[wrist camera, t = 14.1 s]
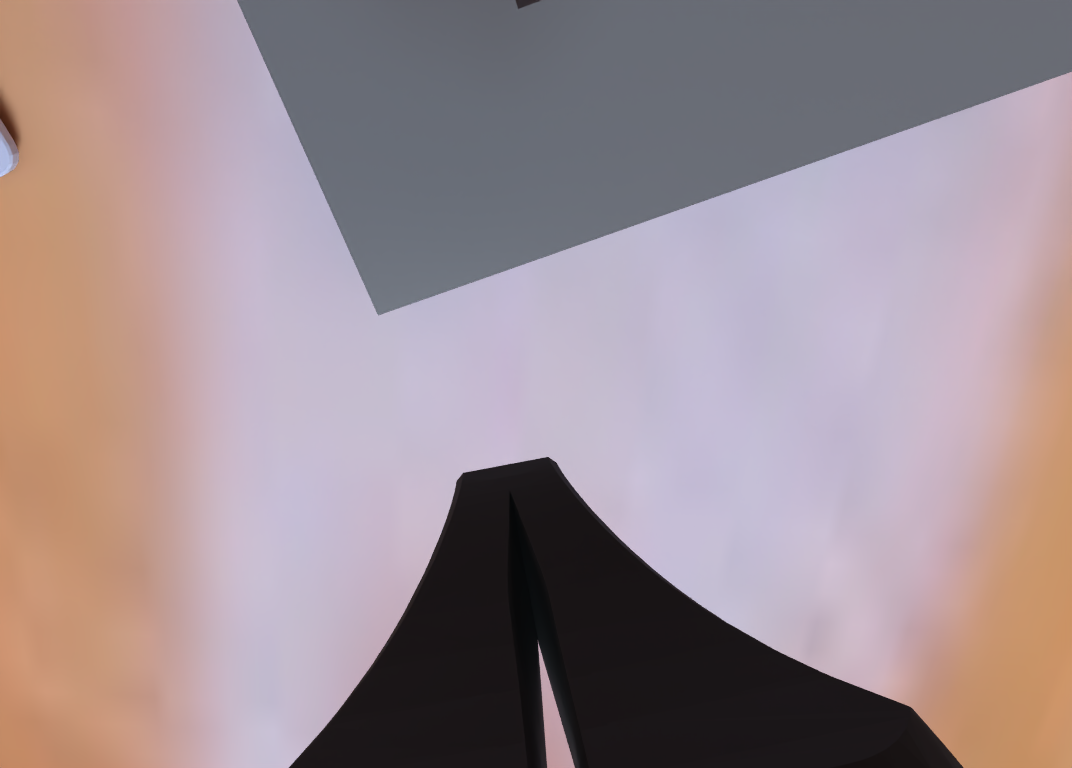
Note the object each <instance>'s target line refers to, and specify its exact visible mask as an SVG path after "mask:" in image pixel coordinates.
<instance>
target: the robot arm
mask: <svg viewBox="0 0 1072 768" xmlns="http://www.w3.org/2000/svg"><path fill="white" fill-rule="evenodd" d="M18 161H19V152H18V149H17V146H16V144H15V142H14V140H13V139H12V137H11V135H10V134H9V132H8V130H7V129H6V127H5V126H4V124H3V122H2V121H1V119H0V177H1V176H3V175H5V174H7V173H9V172H10V171H12V170H13V169H15V167H16V165H17V163H18ZM538 642H539V646H540V649H541V653H542V656H543V660H544V663H545V667H546V670H547V673H548V677H549V680H550V684H551V687H552V691H553V694H554V697H555V701H556V704H557V708H558V711H559V714H560V718H561V721H562V725H563V728H564V731H565V735H566V738H567V742H568V745H569V748H570V752H571V755H572V759H573V762H574V766H575V768H963V767H962V765H961V764H960V763H959V762H958V761H957V759H956V758H955V757H954V756H953V755H952V753H951V752H950V751H949V750H948V749H947V748H946V746H945V745H944V744H943V743H942V742H941V741H940V739H939V738H938V737H937V736H936V735H935V734H934V733H933V731H932V730H931V729H930V728H929V727H928V726H927V725H926V723H925V722H924V721H923V720H922V719H921V718H920V717H919V715H918V714H917V713H916V712H915V711H914V710H913V709H912V708H911V707H909V706H907V705H904V704H901V703H899V702H896V701H894V700H891V699H888V698H886V697H883V696H881V695H878V694H875V693H873V692H870V691H868V690H865V689H862V688H860V687H857V686H855V685H852V684H849V683H847V682H844V681H842V680H839V679H836V678H834V677H831V676H829V675H827V674H825V673H822V672H820V671H818V670H816V669H814V668H812V667H809V666H807V665H805V664H803V663H801V662H799V661H797V660H795V659H793V658H790V657H788V656H786V655H784V654H782V653H780V652H778V651H776V650H774V649H772V648H770V647H769V646H767V645H765V644H763V643H762V642H760V641H758V640H756V639H755V638H753V637H751V636H749V635H748V634H746V633H744V632H742V631H741V630H739V629H737V628H735V627H733V626H732V625H730V624H728V623H726V622H725V621H723V620H722V619H720V618H719V617H717V616H716V615H714V614H713V613H711V612H710V611H708V610H707V609H705V608H704V607H702V606H701V605H699V604H698V603H696V602H695V601H694V600H692V599H691V598H690V597H688V596H687V595H686V594H684V593H683V592H681V591H680V590H679V589H677V588H676V587H675V586H673V585H672V584H671V583H670V582H668V581H667V580H666V579H664V578H663V577H662V576H661V575H660V574H658V573H657V572H656V571H655V570H654V569H652V568H651V567H650V566H649V565H648V564H647V563H645V562H644V561H643V560H642V559H641V558H640V557H639V556H638V555H636V554H635V553H634V552H633V551H632V550H631V549H630V548H629V547H628V546H627V545H626V544H625V543H624V542H622V541H621V540H620V539H619V538H618V537H617V536H616V535H615V534H614V533H613V532H612V531H611V530H610V528H609V527H608V526H607V525H606V524H605V523H604V522H603V521H602V520H601V519H600V518H599V517H598V516H597V515H596V514H595V513H594V512H593V511H592V509H591V508H590V507H589V506H588V505H587V504H586V503H585V501H584V500H583V499H582V498H581V497H580V495H579V494H578V493H577V492H576V491H575V489H574V488H573V487H572V485H571V484H570V483H569V481H568V480H567V479H566V477H565V476H564V474H563V473H562V471H561V470H560V468H559V466H558V465H557V463H556V462H555V461H553V460H552V459H550V458H549V457H546V458H540V459H535V460H530V461H524V462H519V463H514V464H508V465H503V466H498V467H492V468H487V469H482V470H477V471H471V472H466V473H463V474H462V475H461V476H460V478H459V479H458V480H457V482H456V488H455V493H454V496H453V500H452V504H451V507H450V510H449V513H448V516H447V519H446V522H445V525H444V527H443V530H442V533H441V535H440V538H439V540H438V542H437V545H436V547H435V550H434V552H433V554H432V557H431V559H430V562H429V564H428V566H427V568H426V571H425V573H424V575H423V577H422V579H421V581H420V583H419V585H418V587H417V589H416V590H415V592H414V594H413V596H412V598H411V600H410V602H409V604H408V606H407V608H406V610H405V612H404V614H403V616H402V617H401V619H400V621H399V623H398V624H397V626H396V628H395V629H394V631H393V633H392V634H391V636H390V638H389V639H388V641H387V643H386V644H385V646H384V647H383V649H382V650H381V652H380V653H379V655H378V656H377V658H376V660H375V661H374V663H373V664H372V666H371V667H370V669H369V670H368V671H367V673H366V674H365V675H364V677H363V678H362V680H361V681H360V682H359V684H358V685H357V686H356V688H355V689H354V691H353V692H352V693H351V695H350V696H349V697H348V699H347V700H346V701H345V703H344V704H343V705H342V707H341V708H340V709H339V710H338V712H337V713H336V714H335V716H334V717H333V718H332V719H331V721H330V722H329V723H328V724H327V725H326V727H325V728H324V729H323V730H322V731H321V732H320V734H319V735H318V736H317V737H316V738H315V739H314V740H313V741H312V742H311V744H310V745H309V746H308V747H307V748H306V749H305V750H304V751H303V753H302V754H301V755H300V756H299V757H298V758H297V759H296V760H295V761H294V763H293V764H292V765H291V766H290V767H289V768H547V761H546V747H545V733H544V720H543V706H542V692H541V678H540V665H539V652H538Z"/></svg>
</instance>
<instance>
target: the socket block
mask: <svg viewBox="0 0 1072 768" xmlns="http://www.w3.org/2000/svg"><path fill="white" fill-rule="evenodd" d="M237 1H238V3H239V5H240V8H241V10H242V12H243V14H244V17H245V19H246V21H247V23H248V26H249V28H250V30H251V32H252V35H253V37H254V39H255V41H256V43H257V46H258V48H259V50H260V52H261V55H262V57H263V59H264V61H265V64H266V66H267V68H268V70H269V73H270V75H271V77H272V79H273V81H274V84H275V86H276V88H277V90H278V93H279V95H280V97H281V99H282V102H283V104H284V106H285V108H286V111H287V113H288V115H289V117H290V119H291V122H292V124H293V126H294V128H295V131H296V133H297V135H298V137H299V140H300V142H301V144H302V146H303V149H304V151H305V153H306V155H307V157H308V160H309V162H310V164H311V166H312V169H313V171H314V173H315V175H316V178H317V180H318V182H319V184H320V187H321V189H322V191H323V193H324V195H325V198H326V200H327V202H328V204H329V207H330V209H331V211H332V213H333V216H334V218H335V220H336V222H337V225H338V227H339V229H340V231H341V233H342V236H343V238H344V240H345V242H346V245H347V247H348V249H349V251H350V254H351V256H352V258H353V260H354V263H355V265H356V267H357V269H358V271H359V274H360V276H361V278H362V280H363V283H364V285H365V287H366V289H367V292H368V294H369V296H370V298H371V301H372V303H373V305H374V307H375V309H376V312H377V314H378V315H381V314H384V313H386V312H389V311H392V310H395V309H398V308H401V307H403V306H406V305H409V304H412V303H415V302H418V301H420V300H423V299H426V298H429V297H432V296H435V295H438V294H440V293H443V292H446V291H449V290H452V289H455V288H457V287H460V286H463V285H466V284H469V283H472V282H475V281H477V280H480V279H483V278H486V277H489V276H492V275H494V274H497V273H500V272H503V271H506V270H509V269H512V268H514V267H517V266H520V265H523V264H526V263H529V262H531V261H534V260H537V259H540V258H543V257H546V256H549V255H551V254H554V253H557V252H560V251H563V250H566V249H568V248H571V247H574V246H577V245H580V244H583V243H586V242H588V241H591V240H594V239H597V238H600V237H603V236H605V235H608V234H611V233H614V232H617V231H620V230H623V229H625V228H628V227H631V226H634V225H637V224H640V223H642V222H645V221H648V220H651V219H654V218H657V217H660V216H662V215H665V214H668V213H671V212H674V211H677V210H679V209H682V208H685V207H688V206H691V205H694V204H696V203H699V202H702V201H705V200H708V199H711V198H714V197H716V196H719V195H722V194H725V193H728V192H731V191H733V190H736V189H739V188H742V187H745V186H748V185H751V184H753V183H756V182H759V181H762V180H765V179H768V178H770V177H773V176H776V175H779V174H782V173H785V172H788V171H790V170H793V169H796V168H799V167H802V166H805V165H807V164H810V163H813V162H816V161H819V160H822V159H825V158H827V157H830V156H833V155H836V154H839V153H842V152H844V151H847V150H850V149H853V148H856V147H859V146H862V145H864V144H867V143H870V142H873V141H876V140H879V139H881V138H884V137H887V136H890V135H893V134H896V133H899V132H901V131H904V130H907V129H910V128H913V127H916V126H918V125H921V124H924V123H927V122H930V121H933V120H936V119H938V118H941V117H944V116H947V115H950V114H953V113H955V112H958V111H961V110H964V109H967V108H970V107H972V106H975V105H978V104H981V103H984V102H987V101H990V100H992V99H995V98H998V97H1001V96H1004V95H1007V94H1009V93H1012V92H1015V91H1018V90H1021V89H1024V88H1027V87H1029V86H1032V85H1035V84H1038V83H1041V82H1044V81H1046V80H1049V79H1052V78H1055V77H1058V76H1061V75H1064V74H1066V73H1069V72H1072V0H237Z"/></svg>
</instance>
